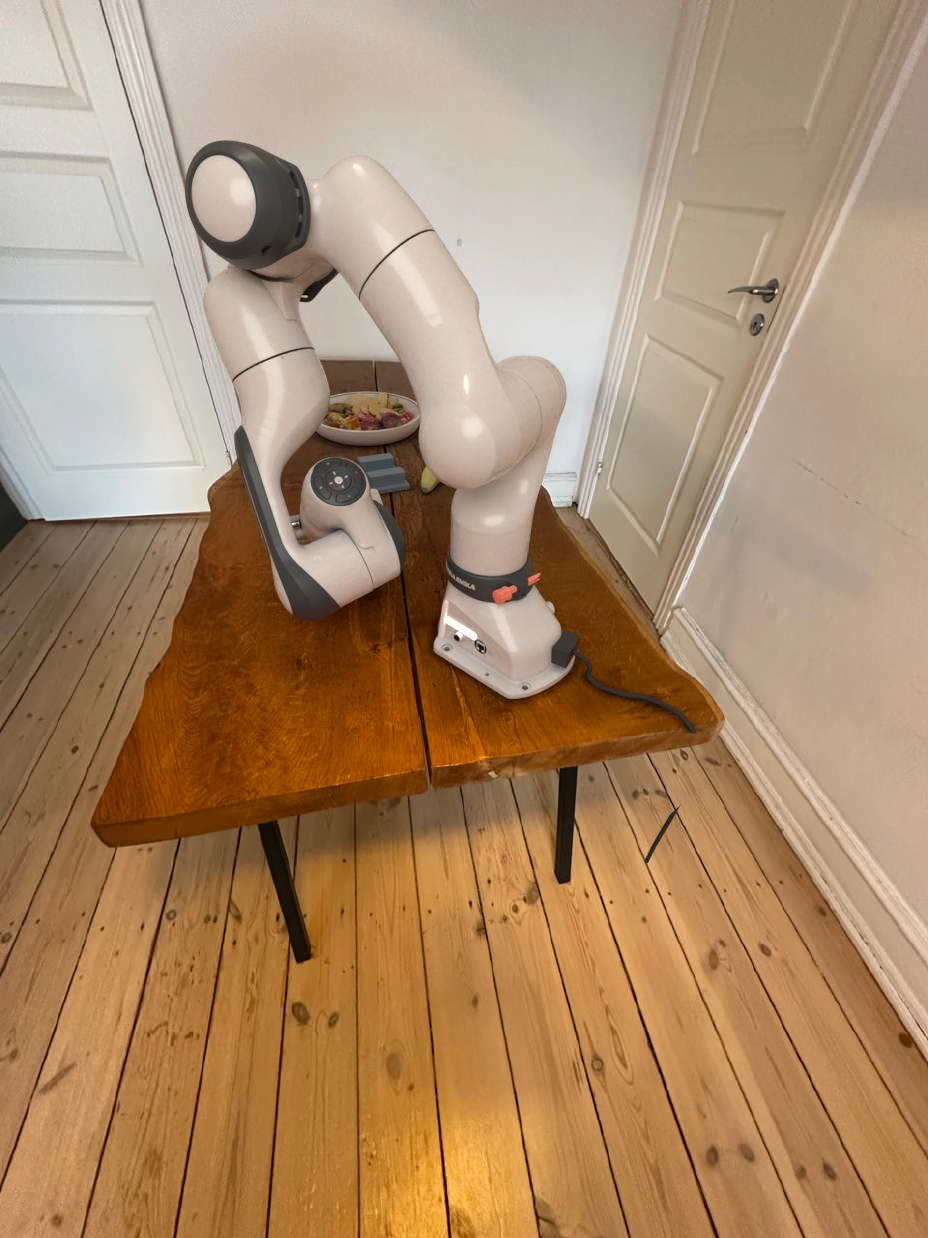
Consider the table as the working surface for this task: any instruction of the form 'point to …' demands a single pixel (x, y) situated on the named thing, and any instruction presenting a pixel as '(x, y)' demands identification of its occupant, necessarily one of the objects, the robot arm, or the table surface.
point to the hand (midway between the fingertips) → (323, 539)
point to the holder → (383, 473)
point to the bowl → (369, 418)
